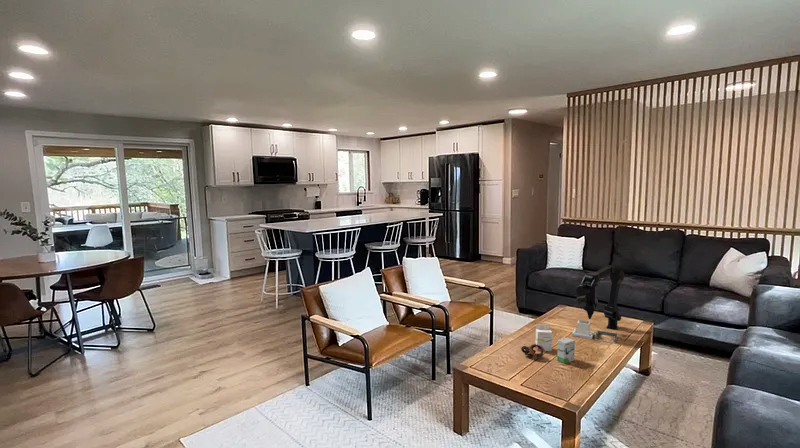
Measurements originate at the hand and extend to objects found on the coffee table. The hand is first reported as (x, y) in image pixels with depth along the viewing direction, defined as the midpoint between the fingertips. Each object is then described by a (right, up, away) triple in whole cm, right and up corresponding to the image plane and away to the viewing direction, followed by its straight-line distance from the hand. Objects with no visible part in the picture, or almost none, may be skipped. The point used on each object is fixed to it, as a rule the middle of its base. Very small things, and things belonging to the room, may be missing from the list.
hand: (590, 316), depth 261 cm
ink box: (-31, -16, -36) cm, 50 cm away
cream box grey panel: (-5, -11, -1) cm, 12 cm away
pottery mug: (-48, -16, -30) cm, 59 cm away
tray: (-5, -12, -1) cm, 13 cm away
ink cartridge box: (-38, -15, -21) cm, 46 cm away
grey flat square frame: (+7, -12, -6) cm, 15 cm away
